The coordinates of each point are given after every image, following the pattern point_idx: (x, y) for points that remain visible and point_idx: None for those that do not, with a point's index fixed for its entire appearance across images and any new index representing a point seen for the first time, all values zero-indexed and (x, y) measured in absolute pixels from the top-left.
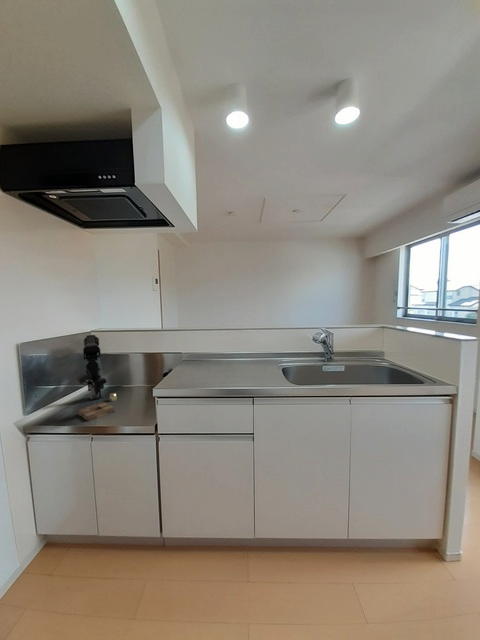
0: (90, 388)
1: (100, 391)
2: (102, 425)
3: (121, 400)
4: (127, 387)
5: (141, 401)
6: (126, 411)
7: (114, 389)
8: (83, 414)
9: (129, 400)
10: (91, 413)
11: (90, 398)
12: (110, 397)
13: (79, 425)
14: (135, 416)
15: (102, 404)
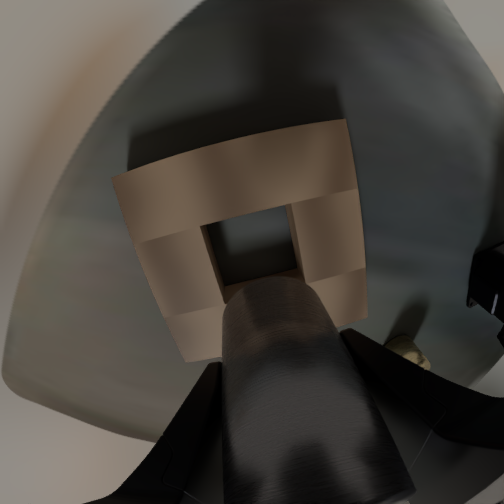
0: (322, 403)
1: (495, 315)
2: (33, 246)
3: None
4: None
5: None
6: (159, 382)
7: (491, 347)
8: (217, 143)
9: None
10: (168, 207)
11: (500, 246)
12: (403, 354)
13: (104, 112)
14: (78, 386)
15: None
